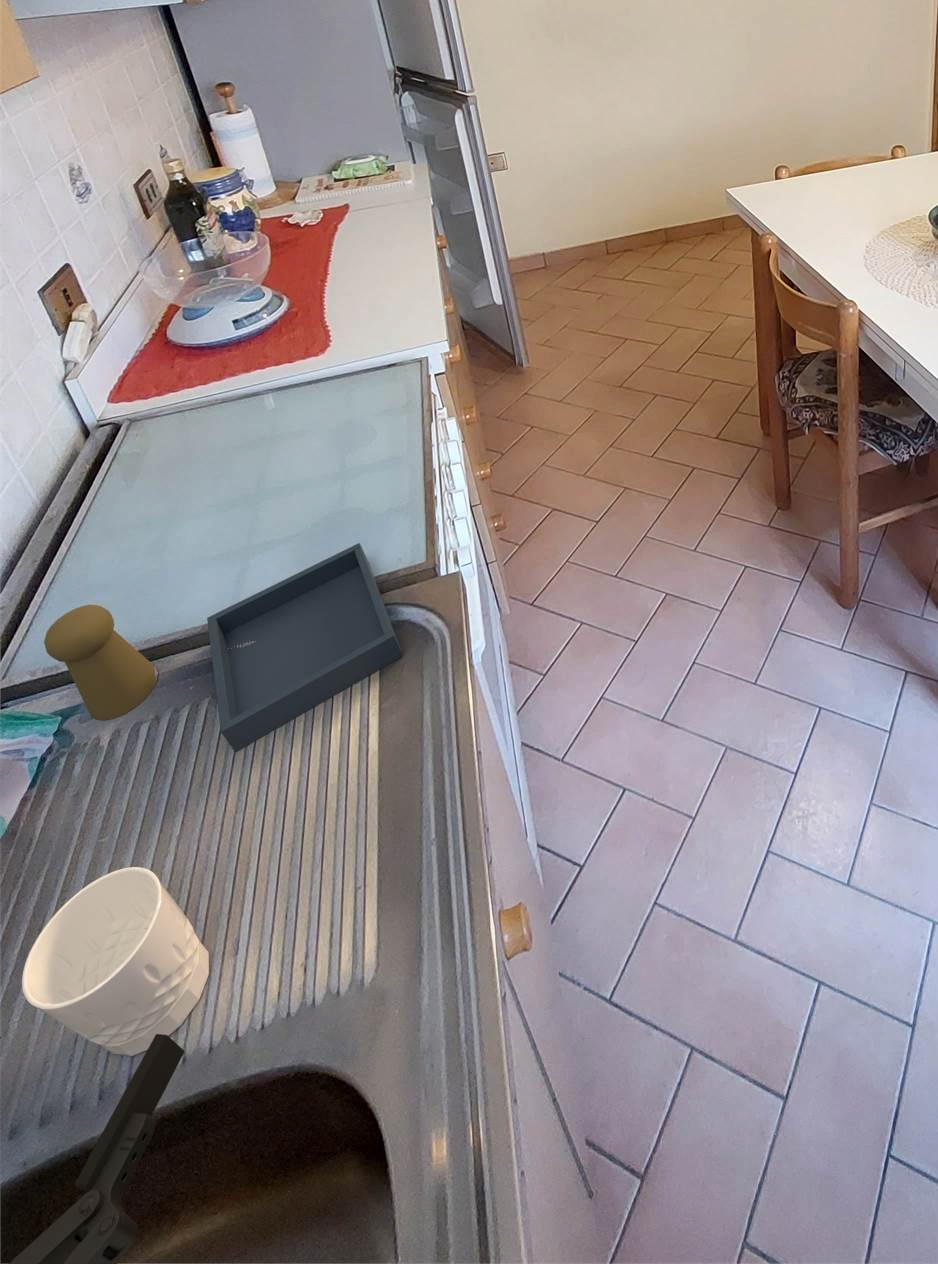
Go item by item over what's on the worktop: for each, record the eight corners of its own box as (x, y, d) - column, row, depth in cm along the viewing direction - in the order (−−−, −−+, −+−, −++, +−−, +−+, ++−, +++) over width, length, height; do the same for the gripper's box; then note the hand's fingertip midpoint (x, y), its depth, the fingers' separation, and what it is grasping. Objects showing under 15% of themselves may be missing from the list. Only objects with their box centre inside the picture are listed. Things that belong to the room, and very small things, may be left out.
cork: (160, 694, 81) (109, 623, 76) (89, 733, 78) (30, 662, 73) (156, 653, 85) (107, 583, 80) (88, 688, 82) (33, 618, 77)
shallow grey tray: (219, 637, 86) (206, 617, 85) (368, 561, 94) (359, 542, 92) (235, 752, 75) (220, 731, 73) (403, 656, 82) (393, 635, 81)
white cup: (204, 906, 64) (147, 841, 59) (232, 992, 59) (172, 929, 54) (87, 998, 59) (15, 936, 54) (106, 1101, 54) (28, 1042, 49)
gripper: (-489, 1651, 37) (-57, 1045, 56) (-18, 1737, 35) (273, 1070, 53) (-638, 1646, 34) (-124, 1000, 52) (-124, 1742, 31) (227, 1024, 50)
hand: (77, 1034), depth 53 cm, fingers open, 13 cm apart
